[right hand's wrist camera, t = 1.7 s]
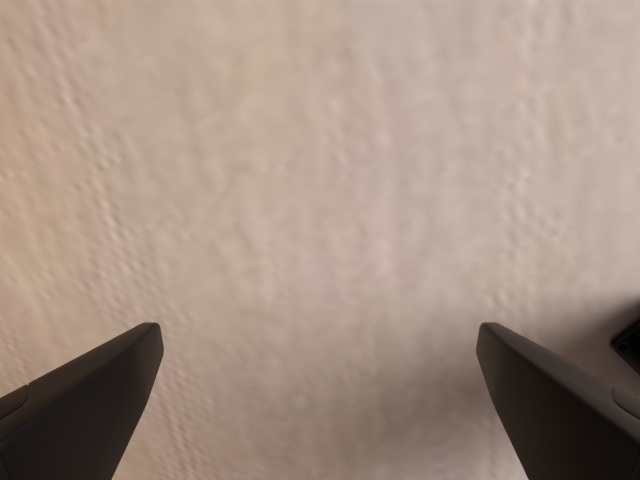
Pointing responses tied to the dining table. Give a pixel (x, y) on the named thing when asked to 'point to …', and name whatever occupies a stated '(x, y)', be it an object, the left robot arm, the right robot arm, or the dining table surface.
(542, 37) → the dining table surface
